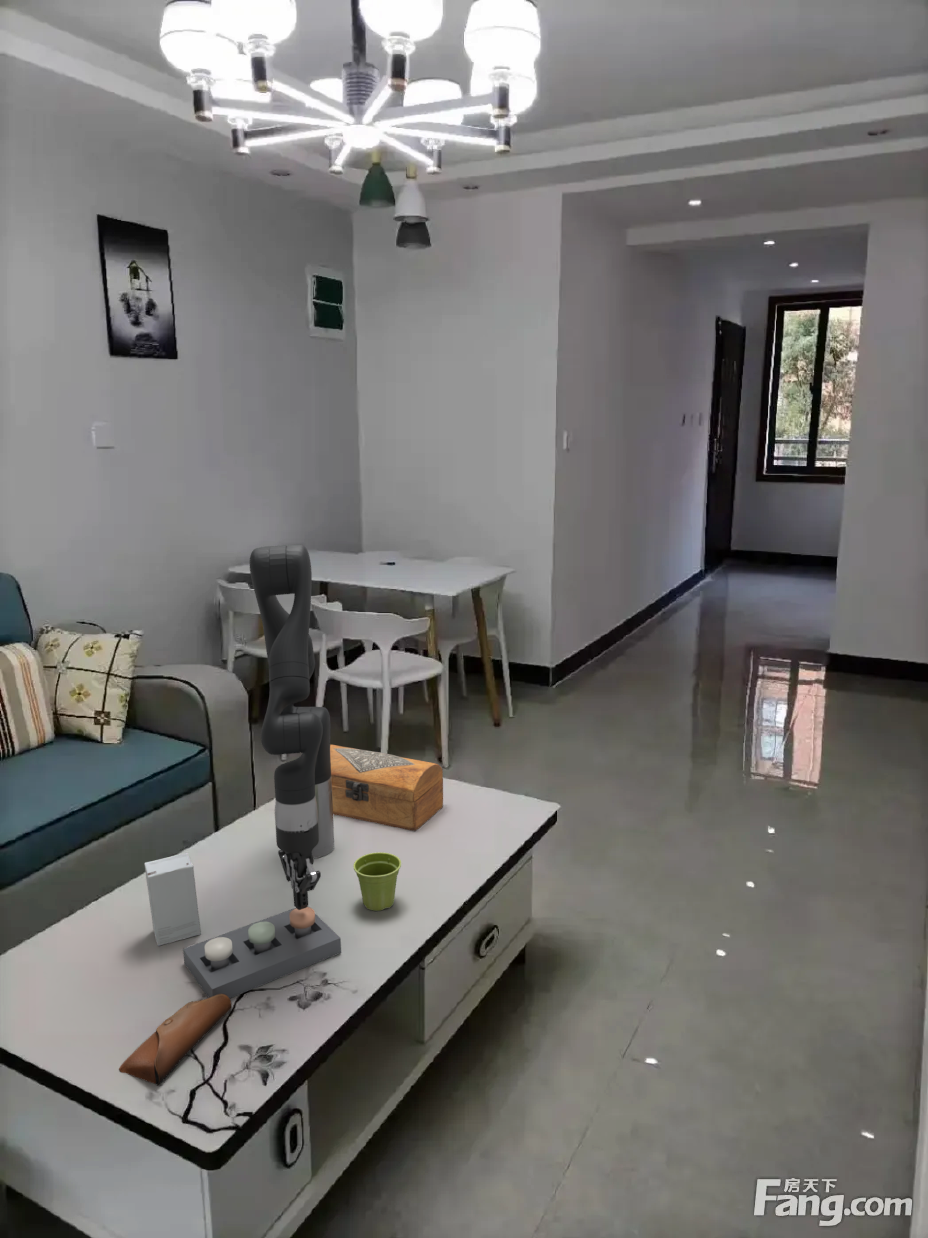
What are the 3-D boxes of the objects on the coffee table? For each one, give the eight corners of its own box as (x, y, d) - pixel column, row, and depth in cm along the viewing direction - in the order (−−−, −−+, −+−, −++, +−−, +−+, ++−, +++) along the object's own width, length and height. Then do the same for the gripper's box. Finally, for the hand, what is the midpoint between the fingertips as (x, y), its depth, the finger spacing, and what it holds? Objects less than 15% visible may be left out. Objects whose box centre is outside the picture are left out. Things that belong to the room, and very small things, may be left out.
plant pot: (395, 918, 171) (393, 878, 169) (348, 913, 173) (346, 873, 171) (407, 893, 180) (406, 854, 178) (363, 888, 182) (361, 850, 180)
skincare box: (196, 920, 171) (190, 850, 168) (201, 936, 166) (195, 864, 162) (150, 931, 168) (143, 860, 164) (154, 948, 162) (147, 875, 159)
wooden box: (305, 811, 217) (302, 758, 214) (342, 786, 232) (340, 736, 228) (412, 836, 205) (411, 780, 201) (444, 807, 219) (443, 755, 216)
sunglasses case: (190, 998, 148) (204, 972, 146) (222, 1025, 147) (237, 1000, 145) (114, 1072, 132) (128, 1045, 129) (149, 1103, 131) (164, 1076, 128)
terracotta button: (286, 933, 164) (285, 912, 163) (308, 925, 167) (307, 904, 166) (297, 945, 160) (296, 923, 159) (320, 936, 163) (319, 915, 162)
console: (184, 963, 158) (182, 948, 157) (306, 918, 172) (305, 904, 171) (213, 1005, 147) (212, 989, 146) (341, 952, 161) (340, 938, 160)
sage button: (245, 949, 159) (244, 927, 158) (269, 940, 162) (268, 918, 161) (256, 961, 156) (254, 939, 155) (280, 952, 158) (278, 930, 157)
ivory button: (202, 965, 155) (200, 943, 154) (227, 956, 157) (225, 934, 156) (212, 979, 151) (210, 956, 150) (237, 969, 154) (236, 946, 153)
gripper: (261, 812, 161) (267, 898, 165) (293, 840, 151) (298, 930, 155) (299, 802, 165) (303, 885, 169) (333, 827, 155) (336, 916, 159)
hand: (301, 907), depth 162 cm, fingers closed
